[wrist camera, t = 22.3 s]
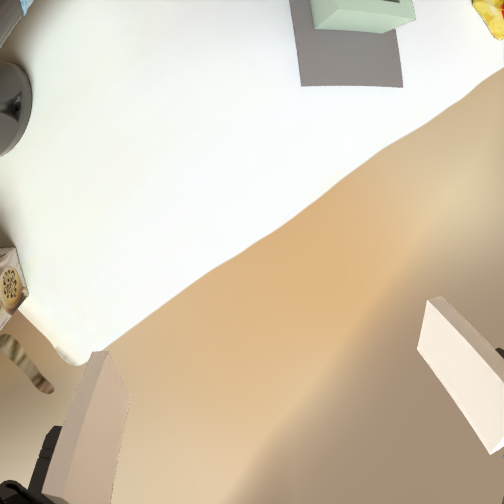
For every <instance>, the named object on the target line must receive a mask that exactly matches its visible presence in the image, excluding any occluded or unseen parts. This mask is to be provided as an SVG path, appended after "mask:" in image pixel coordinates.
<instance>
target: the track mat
mask: <svg viewBox="0 0 504 504" xmlns="http://www.w3.org/2000/svg"><path fill="white" fill-rule="evenodd" d="M289 2H290V8H291V15H292V21H293V27H294V34H295V41H296V48H297V56H298V63H299V71H300V79H301V87H302V86H381V87H399V88H401V87H403V82H402V73H401V65H400V57H399V50H398V43H397V37H396V31H395V28H394V29H392V30H390V31H387V32H385V33H383V34H380V33H371V32H360V31H347V30H326V29H314V23H313V17H312V11H311V5H310V0H289Z"/></svg>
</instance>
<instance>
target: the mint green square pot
mask: <svg viewBox="0 0 504 504" xmlns="http://www.w3.org/2000/svg"><path fill="white" fill-rule="evenodd" d="M310 5H311V11H312V17H313V23H314V29H326V30H347V31H360V32H371V33H380V34H383V33H385V32H387V31H390V30H392V29H394V28H397V27H399V26H402V25H404V24H407V23H409V22H412V21H414V20H416V16H415V11H414V7H413V2H412V0H310Z"/></svg>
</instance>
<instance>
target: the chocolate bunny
mask: <svg viewBox="0 0 504 504" xmlns="http://www.w3.org/2000/svg"><path fill="white" fill-rule="evenodd" d="M473 6H474V8H475V9H476V10H477V12H478V13H479V15H480V16H481V17H482V19H483V20H484V22H485V23H486V25H487V27H488V28H489V30H490V32H491V33H492V35H493V36H494V37H495V38H496V39H498V40H500V41H502V40H503V39H504V0H473Z"/></svg>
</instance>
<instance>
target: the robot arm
mask: <svg viewBox="0 0 504 504" xmlns="http://www.w3.org/2000/svg"><path fill="white" fill-rule="evenodd" d="M33 1H34V0H0V48H1V46H2V45H3V43H4V42H5V40H6V39H7V37H8V36H9V34H10V33H11V31H12V30H13V28H14V27H15V25H16V24H17V23H18V21H19V20H20V18H21V17H24V16H25V14H26V13H27V9H28V8H29V6H30V5H31V4H32V2H33ZM31 105H32V93H31V86H30V83H29V80H28V77H27V75H26V74H25V72H24V71H23V70H22V69H21V68H20V67H19V66H18V65H16V64H14V63H10V62H4V61H0V157H1V156H3V155H5V154H7V153H8V152H9V151H11V150H12V149H13V148H14V147H15V146H16V144H17V143H18V142H19V140H20V139H21V137H22V135H23V133H24V131H25V129H26V127H27V124H28V121H29V117H30V112H31ZM417 350H418V351H419V352H420V354H421V355H422V357H423V358H424V359H425V360H426V362H427V363H428V365H429V366H430V367H431V369H432V370H433V371H434V373H435V374H436V376H437V377H438V378H439V380H440V381H441V383H442V384H443V385H444V387H445V388H446V390H447V391H448V392H449V394H450V395H451V397H452V398H453V400H454V401H455V402H456V404H457V405H458V407H459V408H460V410H461V411H462V412H463V414H464V416H465V417H466V418H467V420H468V421H469V423H470V424H471V426H472V427H473V429H474V430H475V432H476V433H477V435H478V437H479V438H480V440H481V441H482V443H483V444H484V446H485V448H486V449H487V451H488V452H489V454H492V453H494V452H495V451H497V450H498V449H500V448H502V447H503V446H504V350H503V349H501V348H497V349H494V348H493V347H492V346H491V345H490V344H489V343H488V342H487V341H486V340H485V339H484V338H483V337H482V336H481V335H480V334H479V333H478V332H477V331H476V330H475V329H474V328H473V327H472V326H471V325H470V324H469V323H468V322H467V321H466V320H465V319H464V318H463V317H462V316H461V315H460V314H459V313H458V312H457V311H456V310H455V309H454V308H453V307H452V306H451V305H450V304H449V303H448V302H447V301H446V300H445V299H444V298H443V297H441V296H439V297H436V298H432V299H428V300H427V304H426V310H425V315H424V320H423V325H422V330H421V335H420V339H419V343H418V347H417ZM130 401H131V396H130V394H129V392H128V390H127V388H126V386H125V384H124V382H123V380H122V378H121V376H120V374H119V372H118V370H117V368H116V366H115V364H114V362H113V360H112V357H111V355H110V353H109V351H100V352H92V354H91V356H90V359H89V361H88V363H87V366H86V368H85V371H84V373H83V375H82V378H81V380H80V383H79V385H78V388H77V390H76V393H75V395H74V398H73V400H72V403H71V405H70V408H69V410H68V413H67V416H66V419H65V421H64V424H63V426H54V427H53V428H52V429H51V430H50V431H49V433H48V434H47V435H46V437H45V440H44V443H43V446H42V449H41V451H40V454H39V458H38V459H37V462H36V465H35V469H34V471H33V475H32V478H31V481H30V484H29V487H28V490H27V489H26V488H24V487H23V486H22V485H21V484H19V483H18V482H17V481H13V480H7V481H4V482H2V483H1V484H0V504H111V498H112V492H113V486H114V479H115V474H116V468H117V462H118V457H119V452H120V447H121V442H122V437H123V432H124V427H125V423H126V418H127V414H128V409H129V405H130ZM503 458H504V456H503ZM502 504H504V498H503V502H502Z"/></svg>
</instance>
